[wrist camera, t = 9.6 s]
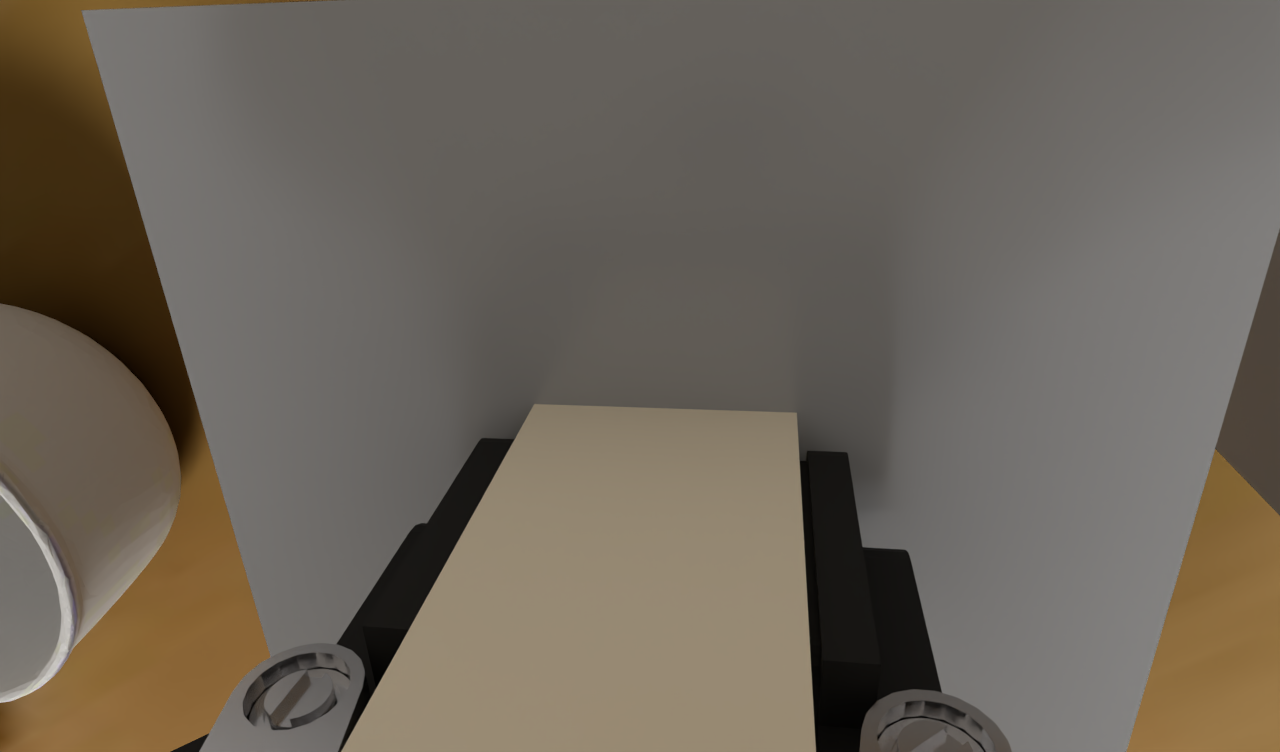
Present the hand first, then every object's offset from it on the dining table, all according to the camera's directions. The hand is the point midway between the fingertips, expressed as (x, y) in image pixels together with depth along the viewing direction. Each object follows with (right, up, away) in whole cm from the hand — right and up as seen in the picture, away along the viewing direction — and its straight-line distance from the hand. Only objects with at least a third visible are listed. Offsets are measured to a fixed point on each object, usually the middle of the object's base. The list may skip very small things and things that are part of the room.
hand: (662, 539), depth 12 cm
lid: (0, +1, +2) cm, 2 cm away
